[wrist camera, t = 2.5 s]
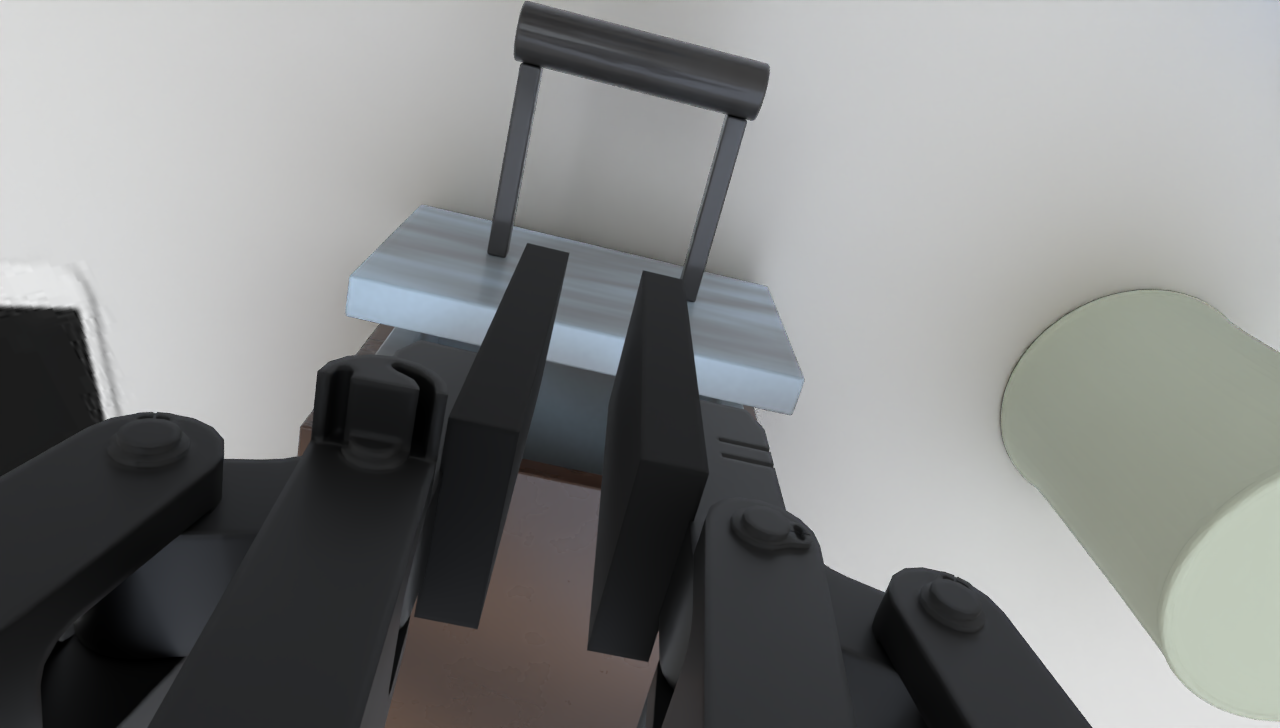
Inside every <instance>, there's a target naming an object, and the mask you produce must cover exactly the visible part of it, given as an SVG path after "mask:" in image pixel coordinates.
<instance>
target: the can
mask: <svg viewBox="0 0 1280 728" xmlns="http://www.w3.org/2000/svg"><path fill="white" fill-rule="evenodd" d="M1001 430H1002V437H1003V442H1004V445H1005V448H1006V451H1007V453H1008V455H1009V457H1010V459H1011V461H1012V463H1013V464H1014V466H1015V467H1016V469H1017V470H1018V471H1019V472H1020V474H1021V475H1022V476H1023V477H1024V478H1025V479H1026V480H1027V481H1028V482H1029V483H1030V484H1032V485H1033V486H1034V487H1036V488H1037V489H1038V490H1039V492H1040V493H1041V494H1042V495H1043V496H1044V498H1045V499H1046V500H1047V501H1048V502H1049V504H1050V505H1051V506H1052V508H1053V509H1054V510H1055V511H1056V513H1057V514H1058V515H1059V517H1060V518H1061V519H1062V520H1063V522H1064V523H1065V524H1066V526H1067V527H1068V528H1069V530H1070V531H1071V532H1072V533H1073V535H1074V536H1075V537H1076V539H1077V540H1078V541H1079V543H1080V544H1081V545H1082V546H1083V548H1084V549H1085V550H1086V552H1087V553H1088V554H1089V556H1090V557H1091V558H1092V560H1093V561H1094V562H1095V563H1096V565H1097V566H1098V567H1099V569H1100V570H1101V571H1102V573H1103V574H1104V575H1105V576H1106V578H1107V579H1108V580H1109V582H1110V583H1111V584H1112V586H1113V587H1114V588H1115V590H1116V591H1117V592H1118V594H1119V595H1120V596H1121V598H1122V599H1123V600H1124V602H1125V603H1126V605H1127V606H1128V607H1129V609H1130V610H1131V611H1132V613H1133V614H1134V615H1135V617H1136V618H1137V619H1138V621H1139V622H1140V623H1141V625H1142V626H1143V627H1144V629H1145V630H1146V631H1147V633H1148V634H1149V636H1150V637H1151V638H1152V640H1153V641H1154V642H1155V644H1156V645H1157V646H1158V648H1159V649H1160V650H1161V652H1162V653H1163V655H1164V656H1165V658H1166V661H1167V663H1168V664H1169V666H1170V668H1171V670H1172V671H1173V673H1174V674H1175V675H1176V677H1177V678H1178V679H1179V680H1180V681H1181V682H1182V684H1183V685H1184V686H1186V687H1187V688H1188V689H1189V690H1190V691H1191V692H1192V693H1194V694H1195V695H1196V696H1197V697H1199V698H1200V699H1202V700H1204V701H1205V702H1207V703H1209V704H1210V705H1212V706H1214V707H1216V708H1219V709H1221V710H1223V711H1226V712H1229V713H1231V714H1235V715H1238V716H1242V717H1246V718H1251V719H1255V720H1264V721H1275V722H1280V353H1279V352H1278V351H1276V350H1274V349H1273V348H1271V347H1269V346H1268V345H1266V344H1264V343H1263V342H1261V341H1259V340H1258V339H1256V338H1254V337H1253V336H1251V335H1249V334H1248V333H1246V332H1244V331H1243V330H1241V329H1240V328H1238V327H1237V326H1235V325H1234V324H1232V323H1231V322H1230V321H1229V320H1228V319H1227V318H1226V317H1225V316H1224V315H1223V314H1222V313H1220V312H1219V311H1218V310H1216V309H1215V308H1213V307H1212V306H1211V305H1209V304H1207V303H1205V302H1203V301H1201V300H1199V299H1197V298H1194V297H1192V296H1189V295H1186V294H1182V293H1177V292H1172V291H1165V290H1136V291H1127V292H1122V293H1117V294H1113V295H1110V296H1106V297H1103V298H1100V299H1097V300H1095V301H1092V302H1090V303H1087V304H1085V305H1083V306H1081V307H1079V308H1077V309H1076V310H1074V311H1072V312H1071V313H1069V314H1067V315H1065V316H1064V317H1062V318H1061V319H1060V320H1058V321H1057V322H1056V323H1054V324H1053V325H1052V326H1050V327H1049V328H1048V329H1047V330H1046V331H1044V332H1043V333H1042V334H1041V335H1040V336H1039V337H1038V338H1037V339H1036V340H1035V341H1034V342H1033V344H1032V345H1031V346H1030V347H1029V348H1028V350H1027V351H1026V352H1025V353H1024V355H1023V356H1022V358H1021V359H1020V361H1019V362H1018V364H1017V365H1016V367H1015V369H1014V371H1013V373H1012V375H1011V377H1010V379H1009V382H1008V384H1007V387H1006V390H1005V393H1004V398H1003V402H1002V407H1001Z"/></svg>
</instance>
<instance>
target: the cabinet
mask: <svg viewBox="0 0 1280 728" xmlns="http://www.w3.org/2000/svg"><path fill="white" fill-rule="evenodd" d="M393 329H394V327H393V326H389V325H384V324H379V326H378V327H377V328H376V329H375V331H374V332H373V333H372V335H371V336H370V337H369V338H368V340H367V341H366V342H365V344H364V345H363V346H362V347H361V349H360V350H359V351H358V353H357V354H356V355H368V354H374V355H375V354H376V352H377V351H378V350H379V348H380V347H381V345H382V344H383V343H384V341H385V340H386V338H387V337H388V336H389V334H390V333H391V332H392V330H393ZM743 408H744V409H745V410H747V411H748V412H749V413H750V414H751V415H752V416H753V417H754V419H755V420H756V421H757V418H756V414H755V411H754V407H751V406H746V405H743ZM313 412H314V409H313V411H312V412H311V414H310V415H309V416H308V417H307V419H306V420H305V421H304V422H303V424H302V425H301V426H300V435H299V445H298V456H302V455H303V453H304V451H305V449H306V448H307V446H308V444H309V442H310V441H311V432H312V422H313ZM601 485H602V475H599V474H594V473H589V472H584V471H580V470H575V469H570V468H566V467H561V466H556V465H551V464H547V463H542V462H537V461H533V460H528V459H523V458H522V460H521V464H520V468H519V472H518V475H517V479H516V483H515V487H514V491H513V495H512V499H511V502H510V506H509V510H508V514H507V518H506V522H505V526H504V529H503V533H502V537H501V541H500V545H499V549H498V553H497V557H496V560H495V564H494V568H493V572H492V576H491V580H490V584H489V587H488V591H487V595H486V599H485V603H484V607H483V611H482V614H481V618H480V622H479V626H478V629H474V628H468V627H463V626H458V625H453V624H448V623H442V622H437V621H432V620H427V619H422V618H417V617H414V614H415V608H416V603H417V598H416V601H415V604H414V606H413V609H412V612H411V616H410V622H409V628H408V634H407V639H406V645H405V650H404V654H403V657H402V661H401V665H400V669H399V673H398V677H397V681H396V685H395V688H394V692H393V696H392V700H391V704H390V708H389V712H388V715H387V719H386V723H385V727H384V728H637V725H638V722H639V719H640V716H641V713H642V710H643V707H644V704H645V701H646V698H647V694H648V691H649V688H650V685H651V682H652V679H653V676H654V673H655V670H656V667H657V664H658V661H659V631H658V634H657V637H656V640H655V643H654V646H653V649H652V652H651V656H650V659H649V662H645V661H639V660H634V659H629V658H624V657H619V656H614V655H608V654H603V653H598V652H593V651H588V650H587V645H588V634H589V622H590V611H591V599H592V588H593V577H594V565H595V554H596V542H597V531H598V519H599V508H600V496H601ZM417 597H418V596H417Z"/></svg>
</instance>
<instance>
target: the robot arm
mask: <svg viewBox="0 0 1280 728" xmlns="http://www.w3.org/2000/svg"><path fill="white" fill-rule="evenodd" d="M568 258H569V253H568V252H564V251H560V250H556V249H551V248H547V247H543V246H539V245H534V244H530V243H527V244H526V247H525V249H524V251H523V253H522V256H521V258H520V260H519V262H518V264H517V267H516V269H515V271H514V273H513V275H512V278H511V280H510V282H509V284H508V287H507V289H506V291H505V293H504V295H503V298H502V300H501V302H500V304H499V306H498V309H497V311H496V313H495V315H494V318H493V320H492V322H491V324H490V326H489V329H488V331H487V333H486V335H485V337H484V340H483V342H482V344H481V346H480V349H479V351H478V353H477V352H473V351H468V350H464V349H459V348H455V347H450V346H446V345H441V344H437V343H432V342H428V341H423V340H419V341H417V342H414V343H412V344H410V345H408V346H406V347H404V348H401V349H399V350H397V351H396V352H395V354H394V355H393V356H384V355H374V354H368V355H354V356H346V357H343V358H340V359H337V360H333V361H330V362H328V363H327V364H326V365H325V366H323V367H322V368H321V369H320V370H318V372H317V382H316V392H315V402H314V412H313V422H312V432H311V441H310V442H309V444H308V446H307V448H306V449H305V451H304V453H303V455H302V456H297V457H292V458H286V459H268V460H253V459H224V439H223V438H222V437H221V436H220V435H219V434H218V432H217V431H216V430H215V429H214V428H213V427H211V426H209V425H207V424H205V423H203V422H201V421H198V420H196V419H194V418H189V417H184V416H179V415H174V414H171V413H161V412H157V413H153V412H144V413H136V414H132V415H126V416H120V417H114V418H110V419H107V420H105V421H102V422H100V423H97V424H95V425H92V426H90V427H87V428H86V429H84V430H82V431H80V432H79V433H77V434H75V435H73V436H72V437H70V438H68V439H66V440H65V441H63V442H61V443H59V444H57V445H56V446H54V447H52V448H50V449H49V450H47V451H45V452H43V453H42V454H40V455H38V456H36V457H35V458H33V459H31V460H29V461H28V462H26V463H24V464H22V465H21V466H19V467H17V468H15V469H14V470H12V471H10V472H8V473H7V474H5V475H3V476H1V477H0V728H384V727H385V723H386V719H387V715H388V712H389V708H390V704H391V700H392V696H393V692H394V688H395V685H396V681H397V677H398V673H399V669H400V665H401V661H402V657H403V654H404V650H405V645H406V639H407V634H408V628H409V622H410V616H411V612H412V609H413V606H414V604H415V601H416V598H417V603H416V608H415V614H414V617H417V618H422V619H427V620H432V621H437V622H442V623H448V624H453V625H458V626H463V627H468V628H474V629H478V626H479V622H480V618H481V614H482V611H483V607H484V603H485V599H486V595H487V591H488V587H489V584H490V580H491V576H492V572H493V568H494V564H495V560H496V557H497V553H498V549H499V545H500V541H501V537H502V533H503V529H504V526H505V522H506V518H507V514H508V510H509V506H510V502H511V499H512V495H513V491H514V487H515V483H516V479H517V475H518V472H519V468H520V464H521V460H522V456H523V452H524V448H525V445H526V441H527V437H528V433H529V429H530V425H531V421H532V417H533V414H534V410H535V406H536V402H537V398H538V394H539V390H540V386H541V382H542V377H543V372H544V368H545V363H546V359H547V354H548V350H549V345H550V340H551V336H552V331H553V327H554V322H555V318H556V313H557V308H558V304H559V299H560V295H561V290H562V285H563V281H564V276H565V272H566V267H567V263H568ZM773 465H774V464H773V460H772V456H771V452H769V445H768V441H767V437H766V434H765V430H764V428H763V427H762V426H761V425H760V424H759V423H758V422H757V421H756V420H755V419H754V417H753V416H752V415H751V414H750V413H749V412H748V411H747V410H745V409H740V408H736V407H731V406H727V405H722V404H718V403H713V402H709V401H704V400H700V398H699V390H698V383H697V375H696V367H695V359H694V352H693V344H692V336H691V328H690V321H689V313H688V305H687V297H686V290H685V282H684V280H683V279H678V278H674V277H670V276H666V275H662V274H657V273H653V272H649V271H645V270H643V272H642V276H641V279H640V283H639V287H638V291H637V295H636V299H635V303H634V307H633V311H632V315H631V318H630V322H629V326H628V330H627V334H626V338H625V342H624V346H623V350H622V353H621V357H620V361H619V365H618V369H617V373H616V377H615V381H614V385H613V389H612V392H611V396H610V400H609V405H608V416H607V428H606V439H605V451H604V462H603V474H602V485H601V496H600V508H599V519H598V531H597V542H596V554H595V565H594V577H593V588H592V599H591V611H590V622H589V634H588V645H587V650H588V651H593V652H598V653H603V654H608V655H614V656H619V657H624V658H629V659H634V660H639V661H645V662H649V659H650V656H651V652H652V649H653V646H654V643H655V640H656V637H657V634H658V631H659V661H658V664H657V667H656V670H655V673H654V676H653V679H652V682H651V685H650V688H649V691H648V694H647V698H646V701H645V704H644V707H643V710H642V713H641V716H640V719H639V722H638V725H637V728H1092V727H1091V725H1090V724H1089V723H1088V721H1087V720H1086V719H1085V717H1084V716H1083V715H1082V714H1081V712H1080V711H1079V710H1078V708H1077V707H1076V706H1075V704H1074V703H1073V702H1072V701H1071V699H1070V698H1069V697H1068V695H1067V694H1066V693H1065V691H1064V690H1063V689H1062V688H1061V686H1060V685H1059V684H1058V682H1057V681H1056V680H1055V678H1054V677H1053V676H1052V674H1051V673H1050V672H1049V671H1048V669H1047V668H1046V667H1045V665H1044V664H1043V663H1042V661H1041V660H1040V659H1039V658H1038V656H1037V655H1036V654H1035V652H1034V651H1033V650H1032V648H1031V647H1030V646H1029V645H1028V643H1027V642H1026V641H1025V639H1024V638H1023V637H1022V635H1021V634H1020V633H1019V632H1018V630H1017V629H1016V628H1015V626H1014V625H1013V624H1012V622H1011V621H1010V620H1009V618H1008V617H1007V616H1006V615H1005V613H1004V612H1003V611H1002V610H1001V609H1000V608H999V607H998V606H997V605H996V604H995V603H994V602H993V601H992V600H991V599H990V598H989V597H988V596H987V595H985V594H984V593H982V592H981V591H979V590H978V589H976V588H975V587H973V586H972V585H971V584H970V583H969V582H967V581H965V580H963V579H961V578H959V577H957V578H956V577H954V575H952V574H949V573H946V572H942V571H941V572H940V571H936V570H932V569H927V568H923V567H922V568H904V569H903V570H901V571H899V572H898V573H896V574H894V575H893V576H892V579H891V581H890V583H889V585H888V587H887V590H886V592H882V591H880V590H877V589H875V588H873V587H870V586H868V585H865V584H863V583H861V582H858V581H856V580H853V579H851V578H849V577H846V576H844V575H842V574H840V573H838V572H836V571H834V570H832V569H830V568H829V567H827V566H826V565H824V563H823V558H822V553H821V548H820V545H819V543H818V541H817V539H816V537H815V535H814V533H813V531H812V530H811V529H809V528H808V527H807V526H806V525H805V524H804V523H803V522H802V521H801V520H800V519H799V518H797V517H796V516H794V515H792V514H791V513H789V512H787V511H786V509H785V505H784V502H783V498H782V494H781V490H780V486H779V483H778V479H777V475H776V471H775V468H773ZM417 596H418V597H417Z"/></svg>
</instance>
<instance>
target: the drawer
mask: <svg viewBox="0 0 1280 728" xmlns="http://www.w3.org/2000/svg"><path fill="white" fill-rule="evenodd" d="M514 59H515V60H516V61H519V62H523V63H521V65H520V69H519V74H518V80H517V86H516V91H515V97H514V102H513V108H512V114H511V119H510V125H509V131H508V136H507V142H506V148H505V153H504V159H503V165H502V170H501V176H500V181H499V187H498V193H497V198H496V204H495V210H494V215H493V221H490V220H486V219H482V218H477V217H473V216H469V215H465V214H460V213H456V212H452V211H448V210H444V209H439V208H435V207H431V206H427V205H420V206H419V207H418V208H417V209H416V210H415V211H414V212H413V213H412V214H411V215H410V216H409V217H408V218H407V219H406V220H405V221H404V222H403V223H402V224H401V225H400V226H399V227H398V228H397V229H396V230H395V231H394V232H393V233H392V234H391V235H390V236H389V237H388V238H387V239H386V240H385V241H384V242H383V243H382V244H381V245H380V246H379V247H378V248H377V249H376V250H375V251H374V252H373V253H372V254H371V255H370V256H369V257H368V258H367V259H366V260H365V261H364V262H363V263H362V264H361V265H360V266H359V267H358V268H357V269H356V270H355V271H354V272H353V273H352V274H351V275H350V277H349V285H348V294H347V303H346V316H348V317H353V318H357V319H362V320H366V321H371V322H375V323H380V324H384V325H389V326H393V327H394V329H393V330H392V332H391V333H390V334H389V336H388V337H387V338H386V340H385V341H384V343H383V344H382V345H381V347H380V348H379V350H378V351H377V352H376V354H375V355H384V356H393V355H394V354H395V352H396V351H397V350H399V349H401V348H404V347H406V346H408V345H410V344H412V343H414V342H417V341H419V340H423V341H428V342H432V343H437V344H441V345H446V346H450V347H455V348H459V349H464V350H468V351H473V352H477V353H478V351H479V349H480V346H481V344H482V342H483V340H484V337H485V335H486V333H487V331H488V329H489V326H490V324H491V322H492V320H493V318H494V315H495V313H496V311H497V309H498V306H499V304H500V302H501V300H502V298H503V295H504V293H505V291H506V289H507V287H508V284H509V282H510V280H511V278H512V275H513V273H514V271H515V269H516V267H517V264H518V262H519V260H520V258H521V256H522V253H523V251H524V249H525V247H526V244H527V243H530V244H534V245H539V246H543V247H547V248H551V249H556V250H560V251H564V252H568V253H569V258H568V263H567V267H566V272H565V276H564V281H563V285H562V290H561V295H560V299H559V304H558V308H557V313H556V318H555V322H554V327H553V331H552V336H551V340H550V345H549V350H548V354H547V359H546V363H545V368H544V372H543V377H542V382H541V386H540V390H539V394H538V398H537V402H536V406H535V410H534V414H533V417H532V421H531V425H530V429H529V433H528V437H527V441H526V445H525V448H524V452H523V456H522V458H523V459H528V460H533V461H537V462H542V463H547V464H551V465H556V466H561V467H566V468H570V469H575V470H580V471H584V472H589V473H594V474H599V475H602V474H603V462H604V451H605V439H606V428H607V416H608V405H609V400H610V396H611V392H612V389H613V385H614V381H615V377H616V373H617V369H618V365H619V361H620V357H621V353H622V350H623V346H624V342H625V338H626V334H627V330H628V326H629V322H630V318H631V315H632V311H633V307H634V303H635V299H636V295H637V291H638V287H639V283H640V279H641V276H642V272H643V270H645V271H649V272H653V273H657V274H662V275H666V276H670V277H674V278H678V279H683V280H684V282H685V290H686V297H687V305H688V313H689V321H690V328H691V336H692V344H693V352H694V359H695V367H696V375H697V383H698V390H699V398H700V400H704V401H709V402H713V403H718V404H722V405H727V406H731V407H736V408H740V409H744V408H743V405H746V406H751V407H755V408H760V409H764V410H769V411H773V412H778V413H782V414H787V415H792V414H793V412H794V409H795V406H796V403H797V400H798V398H799V395H800V392H801V389H802V386H803V384H804V376H803V374H802V371H801V369H800V366H799V364H798V361H797V359H796V356H795V354H794V351H793V349H792V346H791V344H790V341H789V339H788V336H787V334H786V331H785V329H784V326H783V324H782V321H781V319H780V316H779V314H778V311H777V309H776V306H775V304H774V301H773V299H772V296H771V294H770V291H769V289H768V287H767V286H764V285H759V284H755V283H751V282H747V281H743V280H738V279H734V278H730V277H726V276H722V275H717V274H713V273H709V272H705V271H704V270H705V267H706V263H707V260H708V256H709V253H710V249H711V246H712V242H713V239H714V235H715V232H716V228H717V225H718V221H719V218H720V214H721V211H722V207H723V204H724V201H725V197H726V194H727V190H728V187H729V183H730V180H731V176H732V173H733V169H734V166H735V162H736V159H737V155H738V152H739V148H740V145H741V141H742V138H743V134H744V131H745V127H746V124H747V121H746V120H750V121H753V120H755V118H756V117H757V115H758V113H759V111H760V109H761V106H762V103H763V100H764V97H765V93H766V89H767V85H768V80H769V74H770V67H769V65H768V64H767V63H763V62H759V61H755V60H751V59H748V58H744V57H740V56H736V55H732V54H729V53H725V52H721V51H717V50H713V49H710V48H706V47H702V46H698V45H694V44H690V43H687V42H683V41H679V40H675V39H671V38H668V37H664V36H660V35H656V34H652V33H649V32H645V31H641V30H637V29H633V28H629V27H626V26H622V25H618V24H614V23H610V22H607V21H603V20H599V19H595V18H591V17H588V16H584V15H580V14H576V13H572V12H569V11H565V10H561V9H557V8H553V7H549V6H546V5H542V4H538V3H534V2H530V1H525V2H524V4H523V6H522V9H521V12H520V16H519V20H518V25H517V30H516V36H515V44H514ZM543 68H547V69H551V70H555V71H559V72H562V73H566V74H570V75H574V76H578V77H582V78H586V79H590V80H594V81H598V82H602V83H605V84H609V85H613V86H617V87H621V88H625V89H629V90H633V91H637V92H641V93H645V94H649V95H652V96H656V97H660V98H664V99H668V100H672V101H676V102H680V103H684V104H688V105H692V106H695V107H699V108H703V109H707V110H711V111H715V112H719V113H723V114H726V115H725V118H724V122H723V125H722V129H721V133H720V136H719V140H718V144H717V147H716V151H715V154H714V158H713V162H712V165H711V169H710V172H709V176H708V180H707V183H706V187H705V191H704V194H703V198H702V201H701V205H700V209H699V212H698V216H697V219H696V223H695V227H694V230H693V234H692V238H691V241H690V245H689V248H688V252H687V256H686V259H685V263H684V266H679V265H675V264H671V263H667V262H663V261H658V260H654V259H650V258H646V257H642V256H637V255H633V254H629V253H625V252H621V251H616V250H612V249H608V248H604V247H599V246H595V245H591V244H587V243H583V242H578V241H574V240H570V239H566V238H562V237H557V236H553V235H549V234H545V233H540V232H536V231H532V230H528V229H524V228H519V227H515V226H514V220H515V215H516V210H517V204H518V199H519V194H520V188H521V183H522V178H523V172H524V167H525V162H526V157H527V151H528V146H529V141H530V135H531V130H532V125H533V119H534V114H535V109H536V103H537V98H538V93H539V87H540V82H541V77H542V71H543Z"/></svg>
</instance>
